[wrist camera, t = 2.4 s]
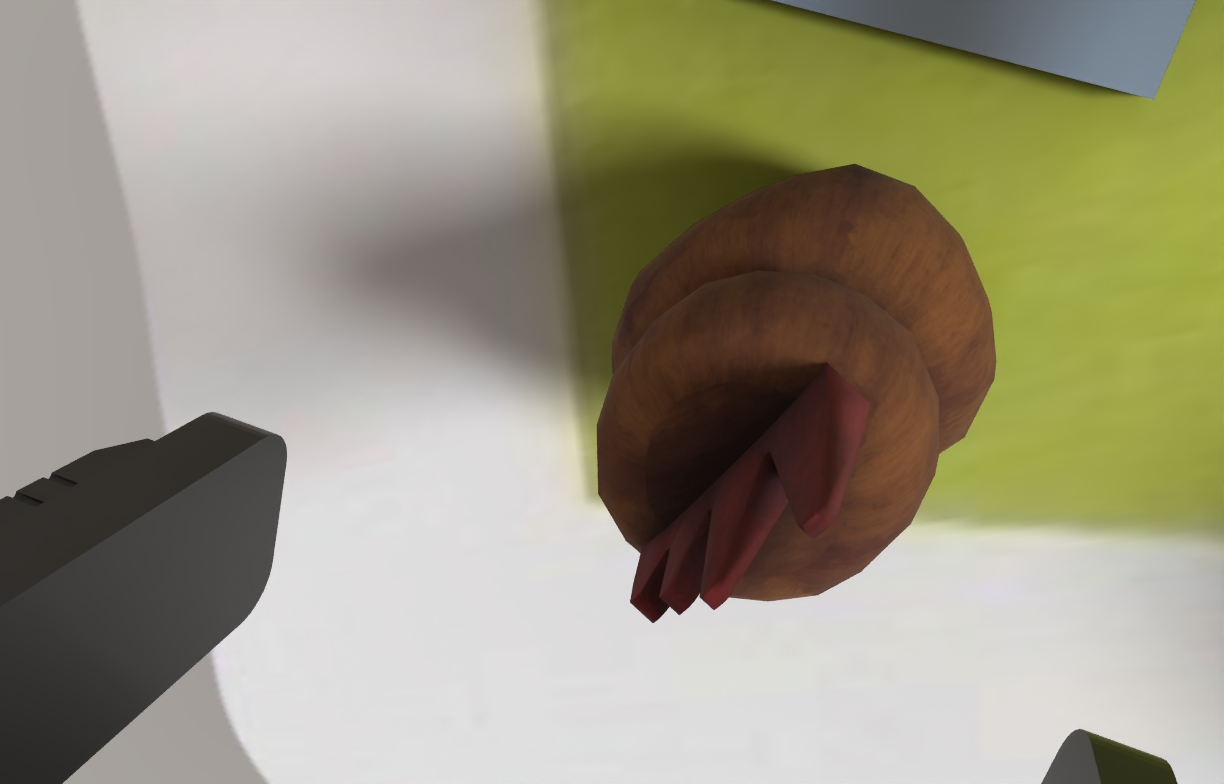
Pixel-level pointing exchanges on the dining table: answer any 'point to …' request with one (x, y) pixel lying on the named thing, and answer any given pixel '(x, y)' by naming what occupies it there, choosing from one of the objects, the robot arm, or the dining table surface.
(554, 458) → the dining table surface
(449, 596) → the dining table surface
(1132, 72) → the board
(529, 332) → the dining table surface
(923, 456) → the wooden figurine
